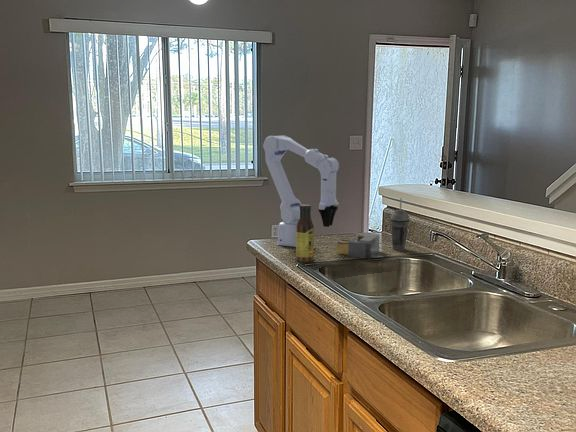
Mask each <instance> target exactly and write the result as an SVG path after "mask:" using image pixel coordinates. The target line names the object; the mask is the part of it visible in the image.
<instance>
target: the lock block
mask: <svg viewBox="0 0 576 432" xmlns="http://www.w3.org/2000/svg"><path fill="white" fill-rule="evenodd" d="M349 241H354V240H351V239H341V240H340V241H337V243H336V255H337V254H339V255H346V256H348V245H349Z"/></svg>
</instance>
